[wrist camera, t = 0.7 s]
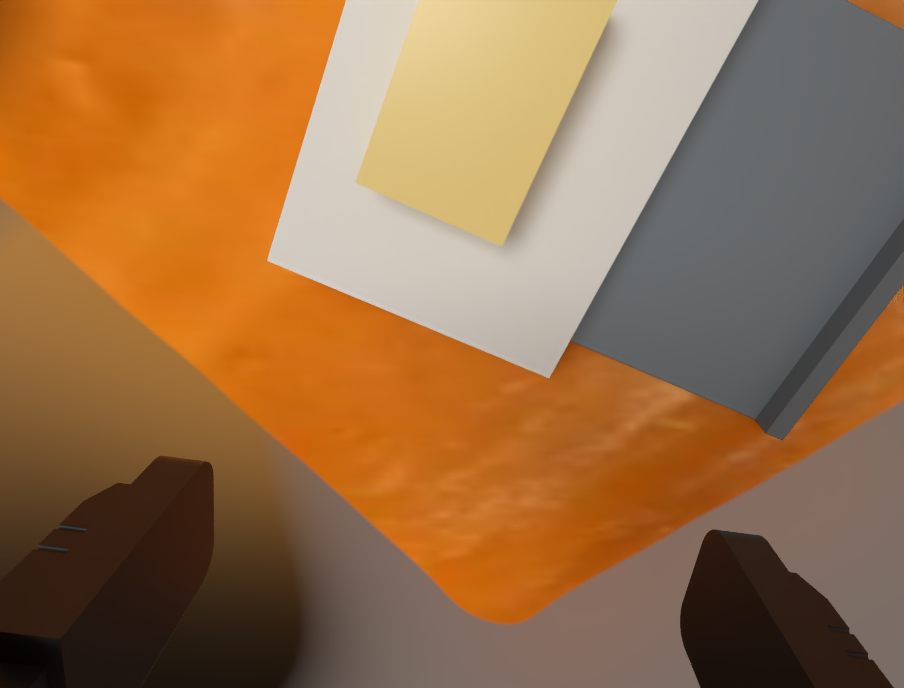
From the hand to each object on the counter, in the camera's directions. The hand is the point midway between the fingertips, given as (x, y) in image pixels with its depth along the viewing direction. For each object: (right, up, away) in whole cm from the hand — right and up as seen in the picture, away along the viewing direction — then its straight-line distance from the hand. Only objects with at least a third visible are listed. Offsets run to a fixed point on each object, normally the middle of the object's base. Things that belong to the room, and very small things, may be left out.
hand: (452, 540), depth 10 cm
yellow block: (+1, +12, +13) cm, 18 cm away
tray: (+15, +9, +19) cm, 26 cm away
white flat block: (+2, +14, +18) cm, 23 cm away
